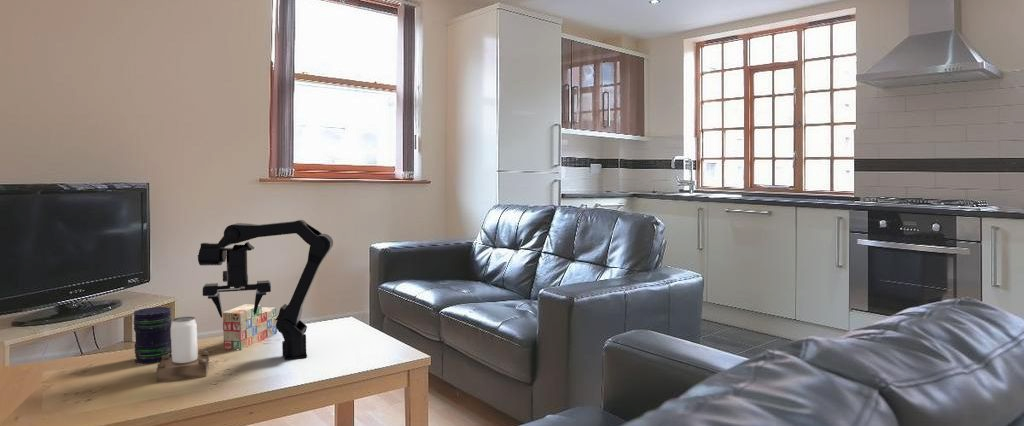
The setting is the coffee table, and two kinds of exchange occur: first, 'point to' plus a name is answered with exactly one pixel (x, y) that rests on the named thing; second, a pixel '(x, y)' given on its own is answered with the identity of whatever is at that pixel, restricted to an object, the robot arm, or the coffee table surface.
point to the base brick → (182, 368)
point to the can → (184, 340)
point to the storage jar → (152, 334)
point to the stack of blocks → (248, 325)
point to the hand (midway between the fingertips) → (238, 316)
